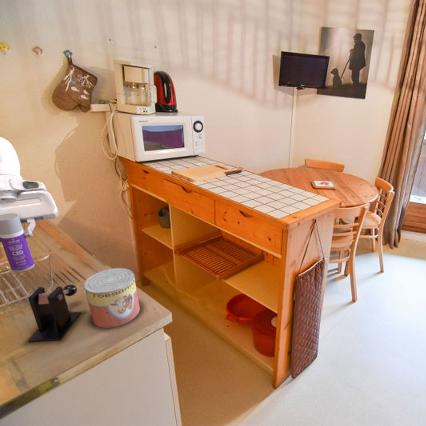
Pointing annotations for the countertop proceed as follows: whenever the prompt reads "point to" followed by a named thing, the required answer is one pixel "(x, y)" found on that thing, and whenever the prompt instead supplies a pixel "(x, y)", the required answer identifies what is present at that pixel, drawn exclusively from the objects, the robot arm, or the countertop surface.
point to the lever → (67, 290)
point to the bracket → (51, 316)
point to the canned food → (112, 297)
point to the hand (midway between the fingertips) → (13, 239)
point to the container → (15, 243)
